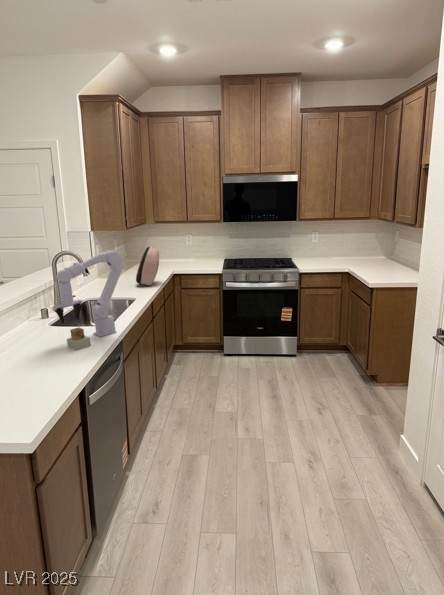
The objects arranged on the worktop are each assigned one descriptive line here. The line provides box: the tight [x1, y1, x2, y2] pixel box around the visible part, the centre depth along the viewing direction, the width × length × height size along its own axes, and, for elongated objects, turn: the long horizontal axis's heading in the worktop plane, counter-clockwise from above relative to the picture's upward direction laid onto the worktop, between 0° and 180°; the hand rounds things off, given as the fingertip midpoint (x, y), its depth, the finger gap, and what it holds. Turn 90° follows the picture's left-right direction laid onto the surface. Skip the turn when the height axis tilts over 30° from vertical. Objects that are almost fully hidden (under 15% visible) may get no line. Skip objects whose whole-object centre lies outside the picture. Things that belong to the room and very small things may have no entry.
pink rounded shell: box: [135, 246, 160, 286], centre depth 324 cm, size 22×20×30 cm
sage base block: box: [66, 334, 92, 351], centre depth 199 cm, size 8×8×4 cm
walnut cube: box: [70, 327, 85, 340], centre depth 198 cm, size 4×4×4 cm
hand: (70, 320), depth 206 cm, fingers open, 7 cm apart
